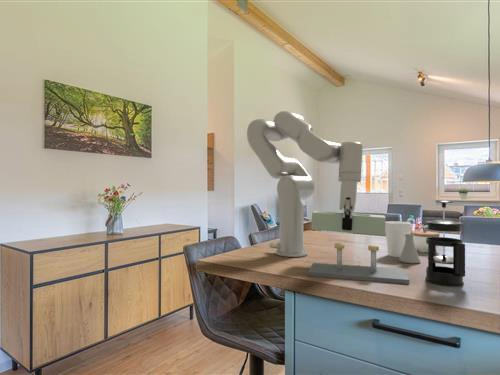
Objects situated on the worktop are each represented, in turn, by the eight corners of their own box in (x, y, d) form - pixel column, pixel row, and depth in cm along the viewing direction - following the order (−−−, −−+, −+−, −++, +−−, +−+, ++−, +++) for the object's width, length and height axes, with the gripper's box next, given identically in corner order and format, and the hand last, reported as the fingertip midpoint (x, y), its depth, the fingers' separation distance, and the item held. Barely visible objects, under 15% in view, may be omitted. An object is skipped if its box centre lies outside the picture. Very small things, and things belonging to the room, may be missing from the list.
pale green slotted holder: (311, 229, 116) (312, 212, 116) (314, 226, 123) (314, 210, 123) (384, 235, 109) (385, 217, 108) (383, 232, 115) (384, 215, 115)
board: (307, 275, 100) (307, 246, 100) (313, 266, 112) (313, 239, 112) (409, 284, 91) (409, 251, 91) (403, 272, 104) (403, 243, 104)
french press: (416, 277, 98) (416, 200, 98) (443, 275, 100) (443, 199, 100) (447, 289, 87) (447, 201, 87) (477, 287, 88) (477, 201, 88)
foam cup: (414, 255, 129) (414, 222, 129) (406, 259, 123) (406, 224, 123) (389, 252, 136) (389, 220, 136) (380, 255, 129) (380, 222, 129)
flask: (423, 264, 115) (423, 235, 115) (401, 263, 116) (401, 235, 116) (417, 260, 122) (417, 232, 122) (396, 259, 123) (396, 232, 123)
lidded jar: (445, 253, 133) (445, 230, 133) (418, 253, 134) (418, 230, 134) (430, 248, 144) (430, 227, 144) (406, 248, 144) (406, 227, 144)
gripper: (340, 177, 124) (337, 224, 125) (336, 177, 108) (334, 231, 109) (361, 178, 122) (358, 225, 123) (361, 178, 106) (358, 233, 106)
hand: (347, 227), depth 116 cm, fingers closed on pale green slotted holder, 7 cm apart
